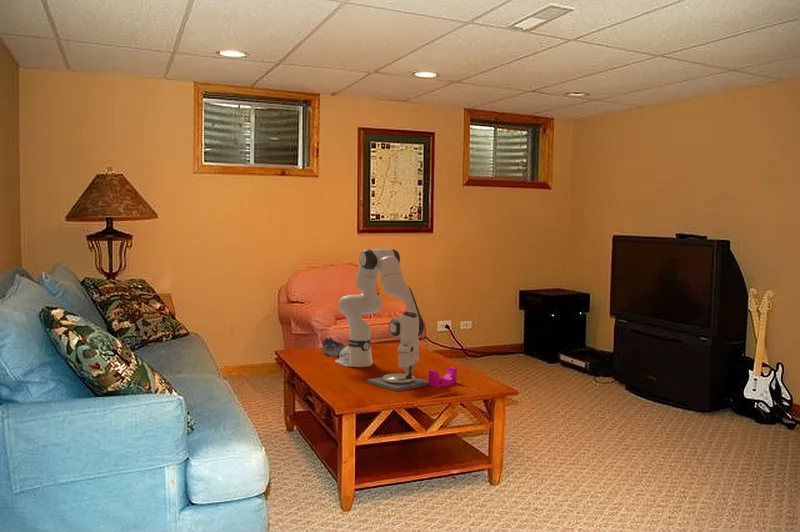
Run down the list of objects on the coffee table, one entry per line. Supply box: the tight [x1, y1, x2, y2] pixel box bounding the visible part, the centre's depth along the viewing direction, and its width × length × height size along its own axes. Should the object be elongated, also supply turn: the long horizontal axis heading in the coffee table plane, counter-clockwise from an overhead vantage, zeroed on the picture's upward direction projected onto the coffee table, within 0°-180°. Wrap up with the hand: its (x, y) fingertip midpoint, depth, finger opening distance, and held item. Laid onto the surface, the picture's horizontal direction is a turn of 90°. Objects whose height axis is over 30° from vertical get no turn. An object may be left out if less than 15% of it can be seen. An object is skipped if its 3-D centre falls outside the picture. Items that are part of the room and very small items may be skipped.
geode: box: [322, 336, 346, 358], centre depth 391 cm, size 20×12×10 cm, turn 32°
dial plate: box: [366, 376, 429, 392], centre depth 322 cm, size 22×22×2 cm
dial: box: [382, 366, 416, 384], centre depth 322 cm, size 16×16×8 cm
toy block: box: [427, 366, 458, 388], centre depth 322 cm, size 15×6×8 cm, turn 128°
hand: (408, 374), depth 320 cm, fingers open, 4 cm apart
